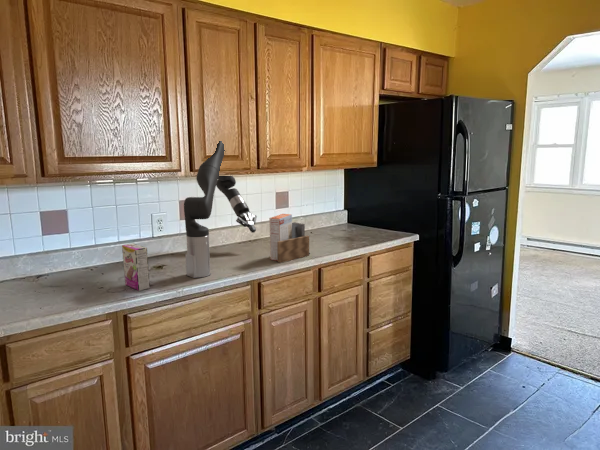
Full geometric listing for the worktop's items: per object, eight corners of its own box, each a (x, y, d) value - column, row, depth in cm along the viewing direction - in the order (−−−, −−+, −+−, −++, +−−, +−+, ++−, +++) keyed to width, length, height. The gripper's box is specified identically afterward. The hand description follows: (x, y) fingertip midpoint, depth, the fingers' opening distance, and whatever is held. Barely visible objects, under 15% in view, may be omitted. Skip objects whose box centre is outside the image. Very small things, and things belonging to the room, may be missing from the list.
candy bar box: (124, 285, 169) (121, 245, 166) (136, 282, 173) (133, 242, 170) (138, 291, 162) (135, 249, 159) (150, 288, 165) (147, 247, 162)
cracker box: (282, 253, 219) (281, 213, 216) (293, 254, 217) (292, 214, 213) (269, 260, 207) (268, 217, 203) (280, 261, 204) (280, 218, 201)
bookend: (301, 256, 214) (301, 224, 211) (292, 253, 219) (291, 222, 216) (310, 253, 218) (310, 223, 216) (300, 251, 223) (300, 221, 220)
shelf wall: (279, 262, 202) (279, 242, 200) (277, 262, 203) (277, 241, 201) (309, 255, 215) (309, 235, 214) (307, 254, 217) (307, 235, 215)
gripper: (231, 202, 221) (247, 228, 215) (252, 200, 230) (267, 225, 224) (226, 211, 226) (240, 237, 219) (246, 209, 235) (260, 234, 228)
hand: (254, 231), depth 222 cm, fingers closed
